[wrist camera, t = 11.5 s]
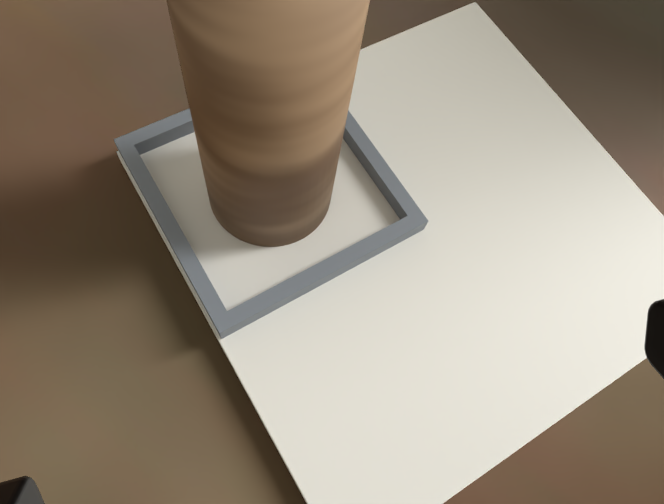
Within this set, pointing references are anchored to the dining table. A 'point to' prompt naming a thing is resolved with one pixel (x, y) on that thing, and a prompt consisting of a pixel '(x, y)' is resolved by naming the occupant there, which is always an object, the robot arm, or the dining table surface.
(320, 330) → the build plate
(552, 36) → the dining table surface
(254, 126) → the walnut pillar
